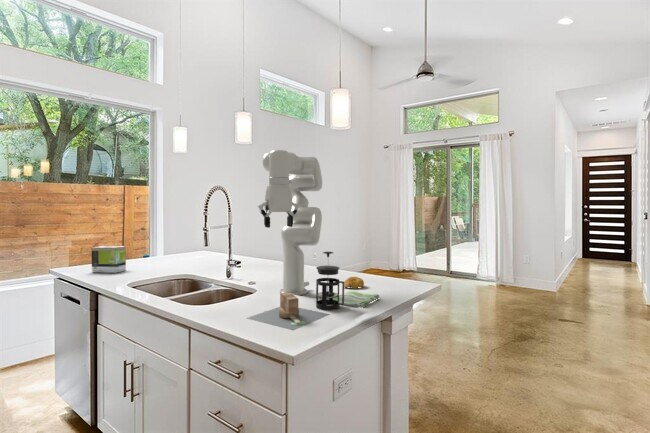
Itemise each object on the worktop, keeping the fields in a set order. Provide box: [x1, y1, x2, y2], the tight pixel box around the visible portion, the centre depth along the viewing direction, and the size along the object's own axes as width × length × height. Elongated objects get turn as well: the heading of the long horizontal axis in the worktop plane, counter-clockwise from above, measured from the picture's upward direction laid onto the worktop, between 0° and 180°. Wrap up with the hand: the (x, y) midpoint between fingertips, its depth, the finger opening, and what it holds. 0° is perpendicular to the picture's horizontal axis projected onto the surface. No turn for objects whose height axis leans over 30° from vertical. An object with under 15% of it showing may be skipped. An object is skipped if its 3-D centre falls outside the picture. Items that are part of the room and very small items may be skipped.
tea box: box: [91, 245, 127, 274], centre depth 221 cm, size 15×10×15 cm, turn 84°
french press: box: [315, 251, 345, 311], centre depth 145 cm, size 12×9×23 cm
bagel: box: [343, 276, 365, 288], centre depth 187 cm, size 10×11×5 cm
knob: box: [279, 292, 300, 323], centre depth 131 cm, size 15×7×7 cm, turn 23°
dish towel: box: [333, 290, 381, 309], centre depth 159 cm, size 17×23×4 cm
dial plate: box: [246, 306, 330, 331], centre depth 134 cm, size 21×21×2 cm
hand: (278, 226), depth 146 cm, fingers open, 9 cm apart
